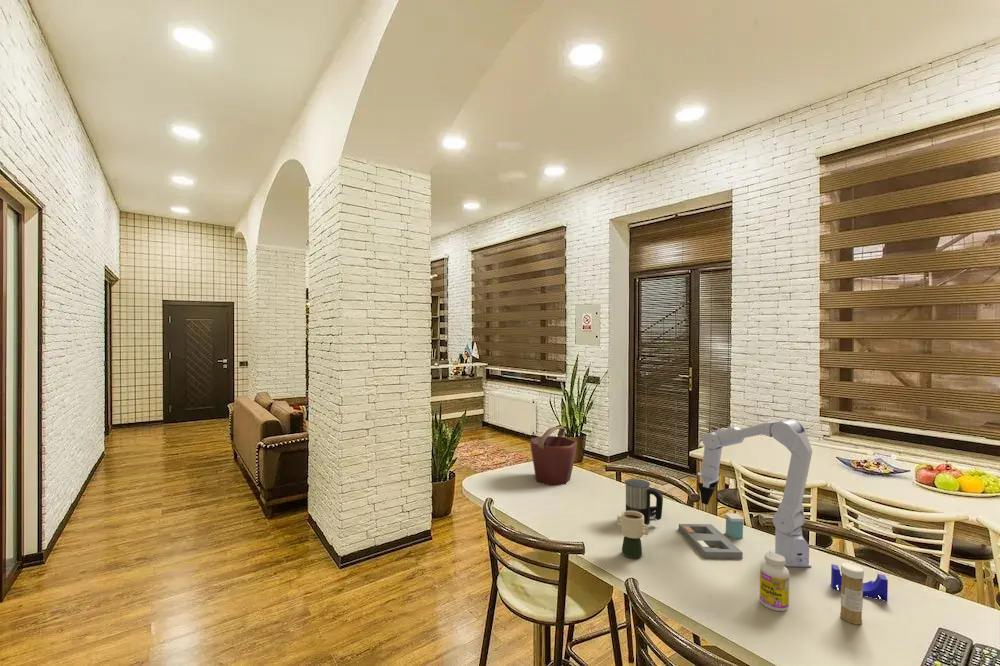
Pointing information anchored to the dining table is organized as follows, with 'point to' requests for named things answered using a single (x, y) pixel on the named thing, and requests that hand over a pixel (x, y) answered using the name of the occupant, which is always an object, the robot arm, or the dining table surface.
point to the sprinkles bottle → (852, 593)
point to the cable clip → (869, 588)
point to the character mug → (632, 532)
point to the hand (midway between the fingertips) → (706, 500)
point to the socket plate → (710, 541)
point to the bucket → (553, 457)
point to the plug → (734, 525)
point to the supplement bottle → (774, 582)
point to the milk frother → (643, 499)
